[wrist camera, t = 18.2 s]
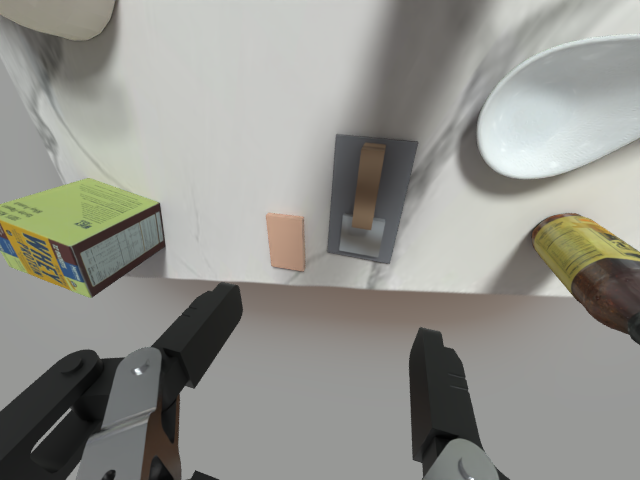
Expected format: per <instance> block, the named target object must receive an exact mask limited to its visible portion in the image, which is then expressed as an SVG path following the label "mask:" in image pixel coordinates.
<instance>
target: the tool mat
mask: <svg viewBox="0 0 640 480" xmlns="http://www.w3.org/2000/svg"><path fill="white" fill-rule="evenodd" d="M365 143H375V144H385V145H386V149H385V154H384V160H383V166H382V172H381V177H380V183H379V189H378V195H377V200H376V206H375V212H374V218H381V219H386V220H385V226H384V231H383V236H382V241H381V246H380V251H379V256H378V257H373V256H367V255H362V254H356V253H351V252H345V251H340V250H339V248H340V238H341V228H342V219H343V214H344V213H348V214H353V211H354V203H355V195H356V187H357V179H358V172H359V164H360V156H361V149H362V147H363V145H364V144H365ZM417 146H418V142H415V141H404V140H393V139H383V138H372V137H361V136H350V135H340V134H337V135H336V143H335V157H334V170H333V184H332V197H331V211H330V224H329V238H328V251H327V252H329V253H334V254H340V255H345V256H350V257H356V258H361V259H367V260H372V261H378V262H383V263H389V264H390V260H391V256H392V252H393V248H394V243H395V239H396V235H397V231H398V226H399V222H400V218H401V214H402V209H403V205H404V201H405V197H406V192H407V188H408V184H409V180H410V175H411V171H412V167H413V163H414V158H415V154H416V150H417Z"/></svg>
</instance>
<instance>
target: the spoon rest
mask: <svg viewBox="0 0 640 480" xmlns="http://www.w3.org/2000/svg"><path fill="white" fill-rule="evenodd" d="M476 137H477V145H478V149H479V152H480V155H481V156H482V158H483V160H484V161H485V162H486V164H487V165H488V166H489V167H490V168H491V169H492V170H494V171H495V172H497V173H499V174H501V175H503V176H506V177H510V178H515V179H540V178H547V177H552V176H556V175H559V174H563V173H566V172H569V171H571V170H574V169H577V168H579V167H582V166H584V165H586V164H589V163H591V162H593V161H595V160H597V159H599V158H602V157H604V156H606V155H608V154H610V153H611V152H613V151H615V150H617V149H619V148H621V147H623V146H625V145H627V144H629V143H631V142H633V141H635V140H637V139H639V138H640V33H639V34H621V35H610V36H602V37H595V38H587V39H582V40H577V41H573V42H568V43H565V44H561V45H558V46H555V47H552V48H550V49H547V50H545V51H542V52H540V53H538V54H536V55H534V56H532V57H530V58H528V59H526V60H525V61H523V62H522V63H520V64H519V65H518V66H516V67H515V68H514V69H512V70H511V71H510V72H509V73H508V74H507V75H506V76H505V77H504V78H503V79H502V80H501V81H500V82H499V83H498V84H497V85H496V86H495V88H494V89H493V90H492V92H491V93H490V94H489V96H488V98H487V99H486V101H485V103H484V105H483V107H482V109H481V111H480V114H479V117H478V121H477V129H476Z"/></svg>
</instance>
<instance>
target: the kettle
mask: <svg viewBox="0 0 640 480" xmlns="http://www.w3.org/2000/svg"><path fill="white" fill-rule="evenodd" d="M115 1H116V0H0V15H2V16H4V17H6V18H7V19H9V20H11V21H13V22H15V23H17V24H19V25H21V26H24V27H27V28H30V29H33V30H36V31H39V32H43V33H47V34H51V35H55V36H59V37H63V38H67V39H69V40H72V41H79V40H89V39H91V38H93V37H94V36H96V35H98V34H100V33H101V32H102V30H103V29H104V27H105V26H106V25H107V23H108V22H109V20H110V18H111V15H112V11H113V8H114V4H115Z"/></svg>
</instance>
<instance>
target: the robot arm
mask: <svg viewBox="0 0 640 480" xmlns="http://www.w3.org/2000/svg"><path fill="white" fill-rule="evenodd" d="M242 312H243V307H242V301H241V295H240V289H239V286H238V285H234V284H229V283H225V282H221V283H220V284H218V285H217V287H216V288H215V289H214V290H213V291H207V292H205V293H204V294H202V295H201V296H199V297H197V298H196V299H195V300H194V301H193V302H192V303H191V305H190V306H189V308H187V309H186V310H185V311H184V312H183V313H182V315H181V316H179V317H178V319H177V320H176V321H175V322H174V323H173V324H172V325H171V326H170V327H169V328H168V329H167V330H166V331H165V332H164V333H163V335H161V337H160V338H159V339H158V340H157V341H156V342H155V343H154V344H153V345H152V346H151V347H145V348H141V349H138V350H136V351H134V352H132V353H131V354H129V355H128V356H127V357H124V358H107V359H100V358H99V356H98V355H97V353H96V352H95V351H93V350H80V351H77V352H74V353H71V354H69V355H67V356H65V357H64V358H62V359H61V360H59V361H58V362H57V363H56V364H54V365H53V366H52V367H51V368H50V369H49V370H47V371H46V372H45V373H44V374H43V375H42V376H41V377H39V378H38V379H37V380H36V381H35V382H34V383H33V384H31V385H30V386H29V387H28V388H27V389H26V390H25V391H23V392H22V393H21V394H20V395H19V396H18V397H16V398H15V399H14V400H13V401H12V402H11V403H10V404H9V405H8V406H6V407H5V408H4V409H3V410H2V411H0V480H66V478H67V477H68V476H69V475H70V473H71V472H72V471H73V469H74V468H75V467H76V465H77V464H78V463H79V462H80V460H81V463H80V467H79V470H78V473H77V477H76V480H181V461H180V455H179V448H178V440H179V439H178V438H179V412H180V394H179V393H180V392H181V390H182V389H183V388H184V386H188V387H191V388H195V387H196V386H197V384H198V383H199V381H200V380H201V378H202V377H203V375H204V374H205V372H206V371H207V369H208V368H209V366H210V365H211V363H212V362H213V360H214V359H215V357H216V356H217V354H218V353H219V351H220V350H221V348H222V347H223V345H224V344H225V342H226V341H227V339H228V338H229V336H230V335H231V333H232V332H233V330H234V329H235V327H236V325H237V324H238V322H239V321H240V319H241V316H242ZM409 359H410V360H409V377H410V401H411V426H412V454H413V460H415V461H418V462H421V463H422V465H423V478H422V480H510V479H509V478H507V477H506V476H505V475H503V474H502V473H501V472H500V471H499V470H498V469H497V468H496V467H495V466H494V465H493V463H492V462H491V460H490V458H489V457H488V456H487V455H486V453H485V451H484V449H483V447H482V444H481V441H480V438H479V434H478V429H477V425H476V421H475V416H474V412H473V407H472V403H471V399H470V394H469V392H468V386H467V381H466V380H465V373H464V368H463V364H462V362H461V360H460V358H459V357H458V355H457V354H456V353H455V351H454V349H451V348H447V347H444V345H443V339H442V334H441V332H439V331H435V330H431V329H426V328H422V327H421V328H419V330H418V333H417V336H416V338H415V341H414V343H413V346H412V349H411V352H410V358H409ZM69 408H71V409H72V410H71V411H70V412H69V414H68V415H67V416H66V417H65V418H64V419H63V420H62V421H61V422H60V423H59V424H58V425H57V426H56V428H54V430H53V431H52V432H51V433H50V434H49V435H48V436H47V437H46V438H45V439H44V440H43V441H42V442H41V443H40V444H39V446H38V447H37V448H36V449H35V450H34V451H33V452H32V453H31V450H32V449H33V447H34V445H35V444H36V443H37V442H38V440H39V439H40V438H41V437H42V436H43V435H44V434H45V433H46V432H47V431H48V430H49V429H50V428H51V427H52V426H53V425H54V424H55V422H56V421H57V420H58V419H59V418H60V417H61V416H62V415H63V414H64V413H65V412H66V411H67V410H68V409H69ZM188 480H219V479H216V478H213V477H211V476H208V475H206V474H203V473H201V472H198V471H196V470H195V472H194V474H193V476H192V478H191V479H188Z"/></svg>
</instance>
